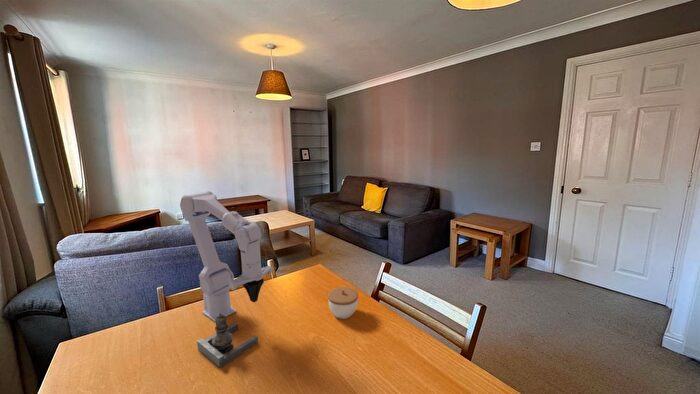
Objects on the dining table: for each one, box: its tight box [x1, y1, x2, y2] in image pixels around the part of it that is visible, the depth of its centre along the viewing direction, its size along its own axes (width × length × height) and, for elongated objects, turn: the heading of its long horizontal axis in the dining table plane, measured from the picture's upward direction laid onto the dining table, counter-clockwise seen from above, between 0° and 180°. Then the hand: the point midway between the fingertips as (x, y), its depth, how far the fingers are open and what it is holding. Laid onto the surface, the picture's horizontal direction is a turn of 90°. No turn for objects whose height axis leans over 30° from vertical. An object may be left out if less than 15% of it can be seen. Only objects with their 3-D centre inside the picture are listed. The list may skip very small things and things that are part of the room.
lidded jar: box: [327, 286, 359, 320], centre depth 102 cm, size 11×11×9 cm
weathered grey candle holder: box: [212, 313, 234, 355], centre depth 84 cm, size 6×6×12 cm
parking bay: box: [196, 322, 259, 369], centre depth 86 cm, size 12×12×3 cm
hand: (253, 300), depth 92 cm, fingers closed
